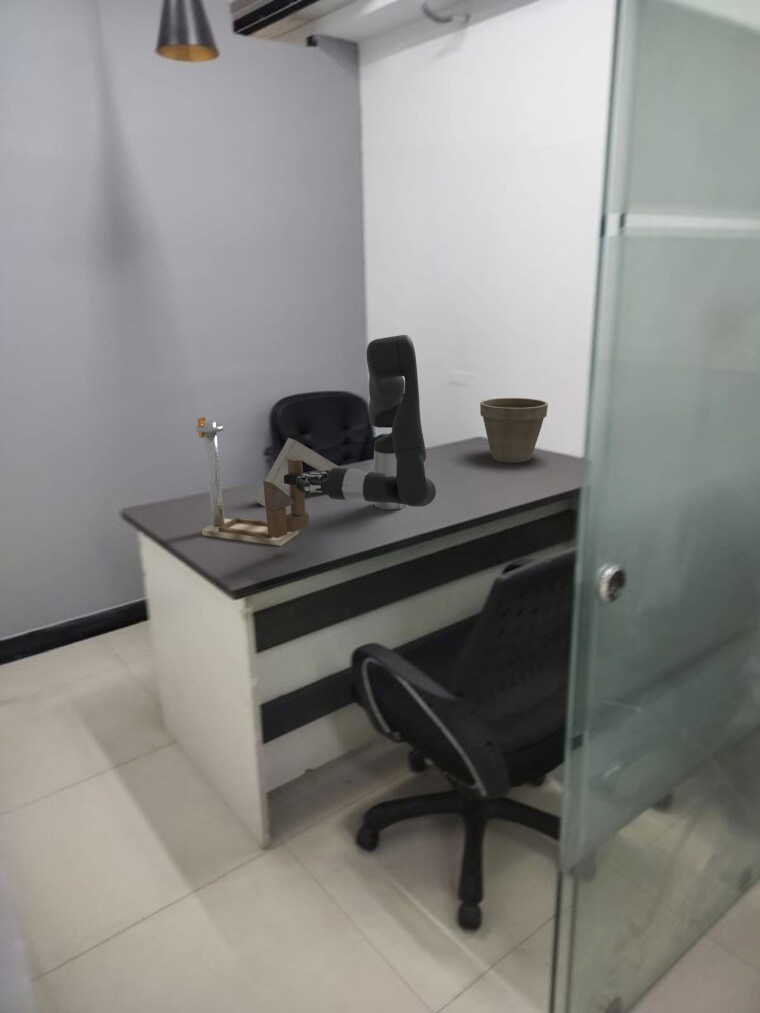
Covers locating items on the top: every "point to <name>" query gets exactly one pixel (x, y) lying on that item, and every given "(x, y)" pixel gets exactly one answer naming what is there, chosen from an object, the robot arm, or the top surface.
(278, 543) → the seat board
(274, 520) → the wooden block
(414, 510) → the top surface
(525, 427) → the plant pot
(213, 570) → the top surface
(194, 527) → the top surface
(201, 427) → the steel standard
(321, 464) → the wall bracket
